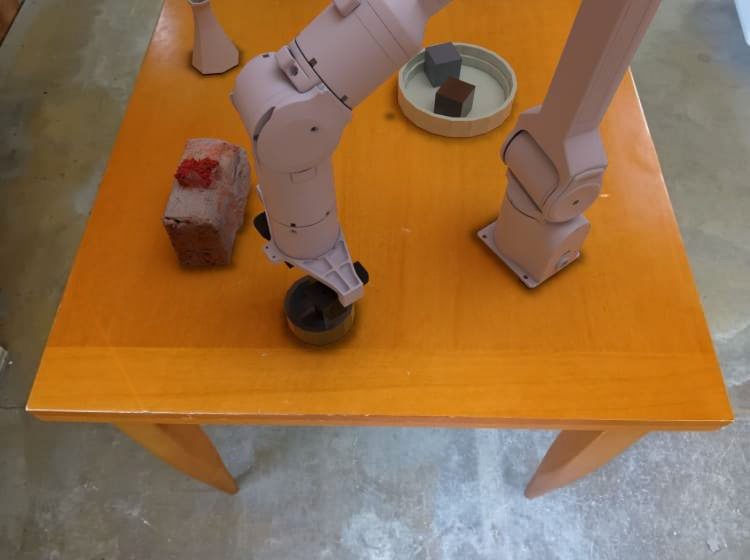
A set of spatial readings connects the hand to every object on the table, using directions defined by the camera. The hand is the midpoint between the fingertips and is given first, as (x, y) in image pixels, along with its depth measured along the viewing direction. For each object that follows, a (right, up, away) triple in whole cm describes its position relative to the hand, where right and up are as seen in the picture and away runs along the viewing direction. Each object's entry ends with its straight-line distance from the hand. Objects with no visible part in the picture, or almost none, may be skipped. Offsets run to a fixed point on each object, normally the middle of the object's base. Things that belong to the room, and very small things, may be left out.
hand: (316, 287), depth 57 cm
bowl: (+17, +26, +24) cm, 40 cm away
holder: (0, -3, +5) cm, 6 cm away
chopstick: (0, -3, +5) cm, 6 cm away
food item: (-13, +8, +13) cm, 20 cm away
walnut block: (+17, +24, +22) cm, 36 cm away
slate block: (+16, +30, +26) cm, 43 cm away
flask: (-18, +34, +29) cm, 48 cm away
